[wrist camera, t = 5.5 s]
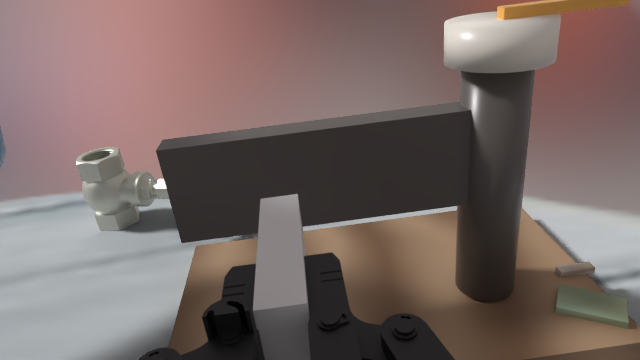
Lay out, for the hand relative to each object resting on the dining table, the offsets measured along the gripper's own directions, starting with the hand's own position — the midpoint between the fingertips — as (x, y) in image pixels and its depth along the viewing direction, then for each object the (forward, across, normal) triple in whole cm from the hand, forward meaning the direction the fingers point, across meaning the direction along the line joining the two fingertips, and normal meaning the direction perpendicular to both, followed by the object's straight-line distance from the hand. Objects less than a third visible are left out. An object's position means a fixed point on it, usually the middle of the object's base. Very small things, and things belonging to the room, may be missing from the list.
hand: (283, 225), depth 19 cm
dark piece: (+4, +5, -8) cm, 11 cm away
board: (+6, +5, -10) cm, 12 cm away
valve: (+20, -12, -10) cm, 26 cm away
